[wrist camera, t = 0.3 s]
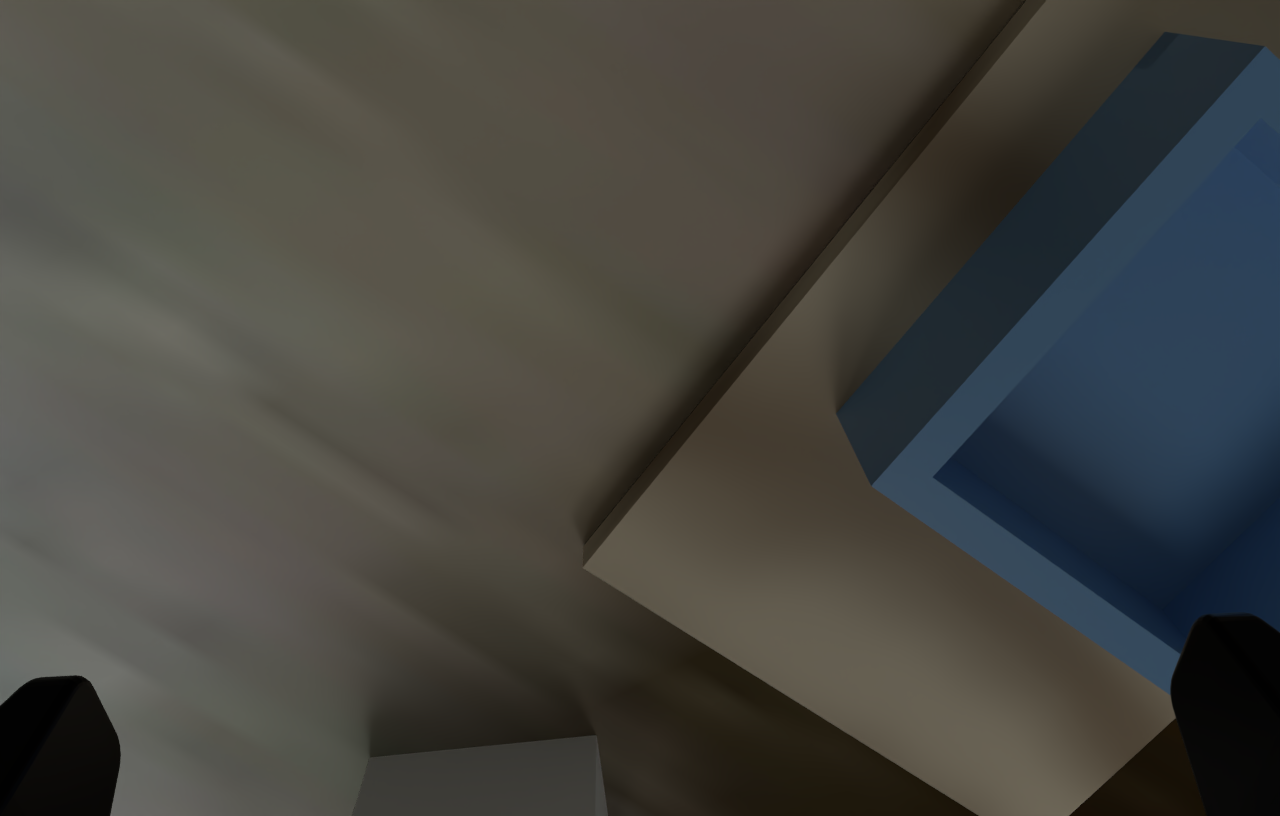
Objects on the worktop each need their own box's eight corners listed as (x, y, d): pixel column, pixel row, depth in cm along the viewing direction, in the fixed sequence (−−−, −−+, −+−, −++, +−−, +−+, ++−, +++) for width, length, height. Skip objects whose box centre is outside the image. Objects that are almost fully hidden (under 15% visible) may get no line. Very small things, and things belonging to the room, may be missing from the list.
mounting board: (1019, 821, 30) (1032, 848, 29) (583, 546, 26) (582, 567, 25) (1758, 131, 23) (1806, 139, 22) (1309, -350, 20) (1343, -364, 19)
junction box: (1149, 637, 26) (1225, 733, 23) (835, 413, 24) (870, 486, 21) (1482, 319, 24) (1622, 377, 20) (1165, 31, 21) (1265, 45, 18)
